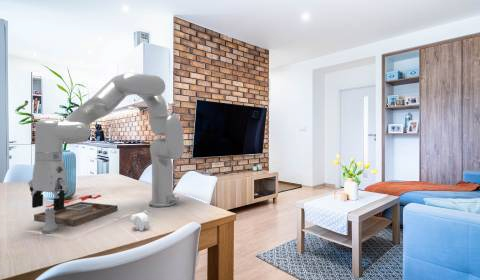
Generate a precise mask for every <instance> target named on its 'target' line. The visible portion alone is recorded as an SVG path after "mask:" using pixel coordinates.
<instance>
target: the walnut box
mask: <svg viewBox="0 0 480 280" xmlns="http://www.w3.org/2000/svg"><path fill="white" fill-rule="evenodd" d="M79 204H85V205H93V211H91V212H88V213H85V214H82V215H79V216H76V215H69V214H65V208H68V207H72V206H75V205H79ZM118 209H119V208H118V204H117V205H116V204H106V203H97V202H88V201H79V202H75V203H72V204H68V205H64V209H60V210H57V211H56V212H55V213H54V215H55V216H54V219H55V223H56V225H59V226H60V225H62V226H69V227H79V225H84V224H86V223H88V222H89V223H90V222H91V221H94V220H96V219H99V218H102V217H105V216H108V215H109V214H112V213H113V214H114V213H115V212H117V211H118ZM44 212H45V211H43V212H39V213H36V214H33V222H41V223H45V221H46V218H45V216H46V214H45V213H44Z"/></svg>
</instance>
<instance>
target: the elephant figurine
mask: <svg viewBox="0 0 480 280" xmlns="http://www.w3.org/2000/svg"><path fill="white" fill-rule="evenodd" d="M130 223H132V224H133V225H134V226H135V227H134V228H135V230H138V231H140V232H143V231H144V230H148V228H149V225H150V213H149V212H148V210H143V211H142V212H137V213H132V215H131V216H130Z"/></svg>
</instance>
